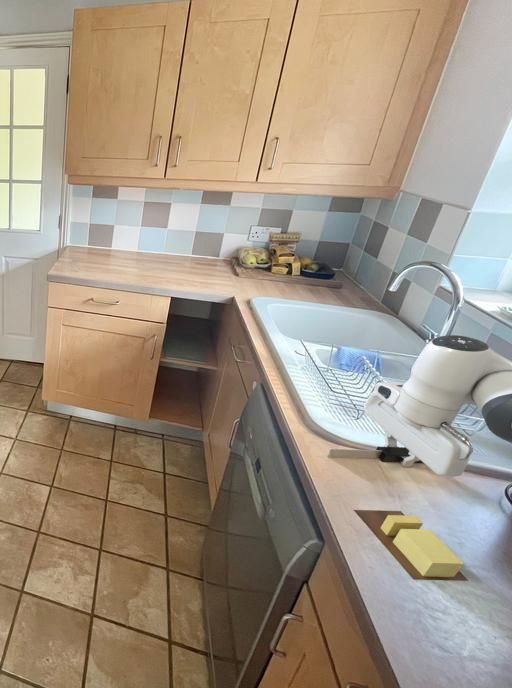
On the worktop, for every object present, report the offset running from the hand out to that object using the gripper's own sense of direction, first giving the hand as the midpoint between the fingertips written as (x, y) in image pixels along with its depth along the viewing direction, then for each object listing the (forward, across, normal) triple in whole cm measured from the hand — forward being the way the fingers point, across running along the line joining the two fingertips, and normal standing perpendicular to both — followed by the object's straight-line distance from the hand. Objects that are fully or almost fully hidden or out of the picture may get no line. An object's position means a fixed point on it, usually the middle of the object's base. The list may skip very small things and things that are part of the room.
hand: (396, 457), depth 91 cm
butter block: (0, -23, +15) cm, 27 cm away
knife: (+2, 0, +4) cm, 4 cm away
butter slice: (0, -18, +15) cm, 24 cm away
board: (+2, -20, +15) cm, 25 cm away
